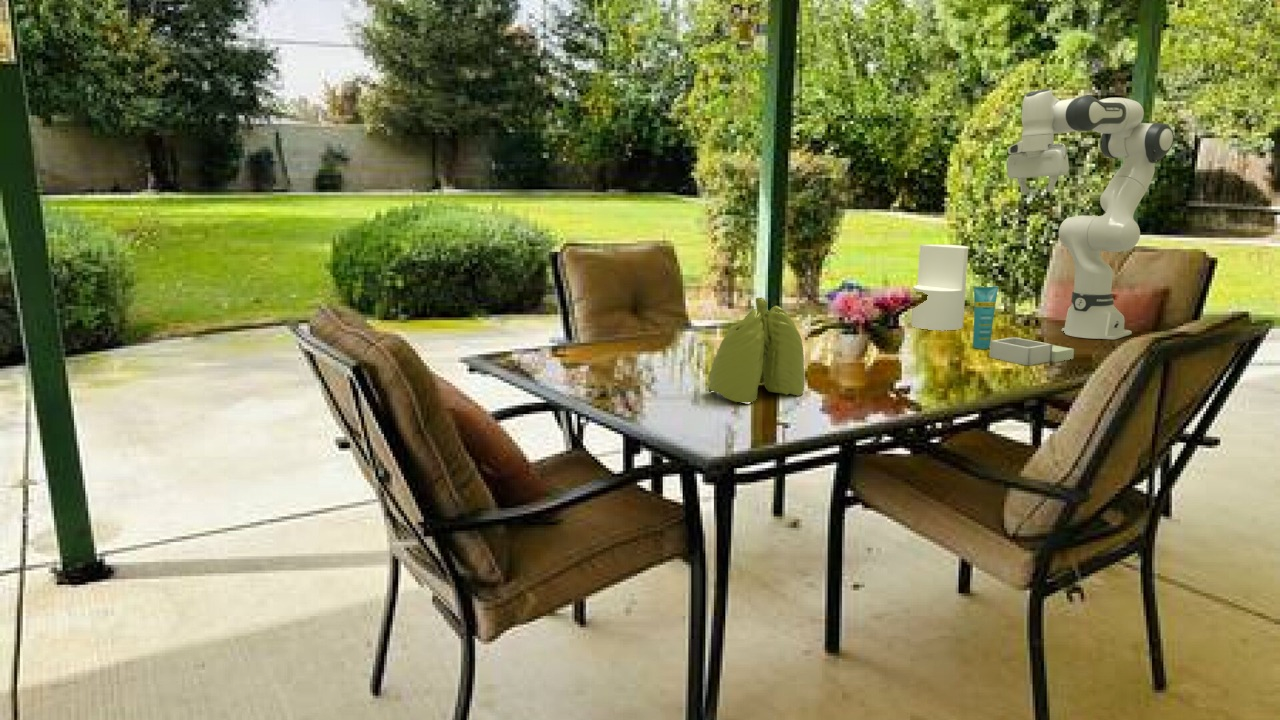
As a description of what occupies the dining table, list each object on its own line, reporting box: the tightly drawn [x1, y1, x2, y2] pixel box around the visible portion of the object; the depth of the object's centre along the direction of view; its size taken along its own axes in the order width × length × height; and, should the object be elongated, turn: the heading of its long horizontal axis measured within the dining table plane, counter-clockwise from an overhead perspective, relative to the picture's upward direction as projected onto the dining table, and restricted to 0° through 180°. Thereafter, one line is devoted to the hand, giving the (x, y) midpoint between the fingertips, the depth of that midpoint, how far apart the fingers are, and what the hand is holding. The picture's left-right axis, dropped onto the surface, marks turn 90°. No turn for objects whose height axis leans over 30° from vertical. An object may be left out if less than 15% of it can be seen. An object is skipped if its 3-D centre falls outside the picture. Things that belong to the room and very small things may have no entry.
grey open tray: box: [988, 336, 1075, 366], centre depth 265 cm, size 18×16×5 cm
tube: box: [972, 285, 999, 350], centre depth 279 cm, size 7×5×19 cm, turn 98°
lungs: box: [708, 297, 806, 403], centre depth 225 cm, size 25×16×24 cm, turn 119°
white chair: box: [910, 244, 969, 332], centre depth 314 cm, size 17×17×28 cm
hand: (1037, 192), depth 274 cm, fingers open, 8 cm apart
